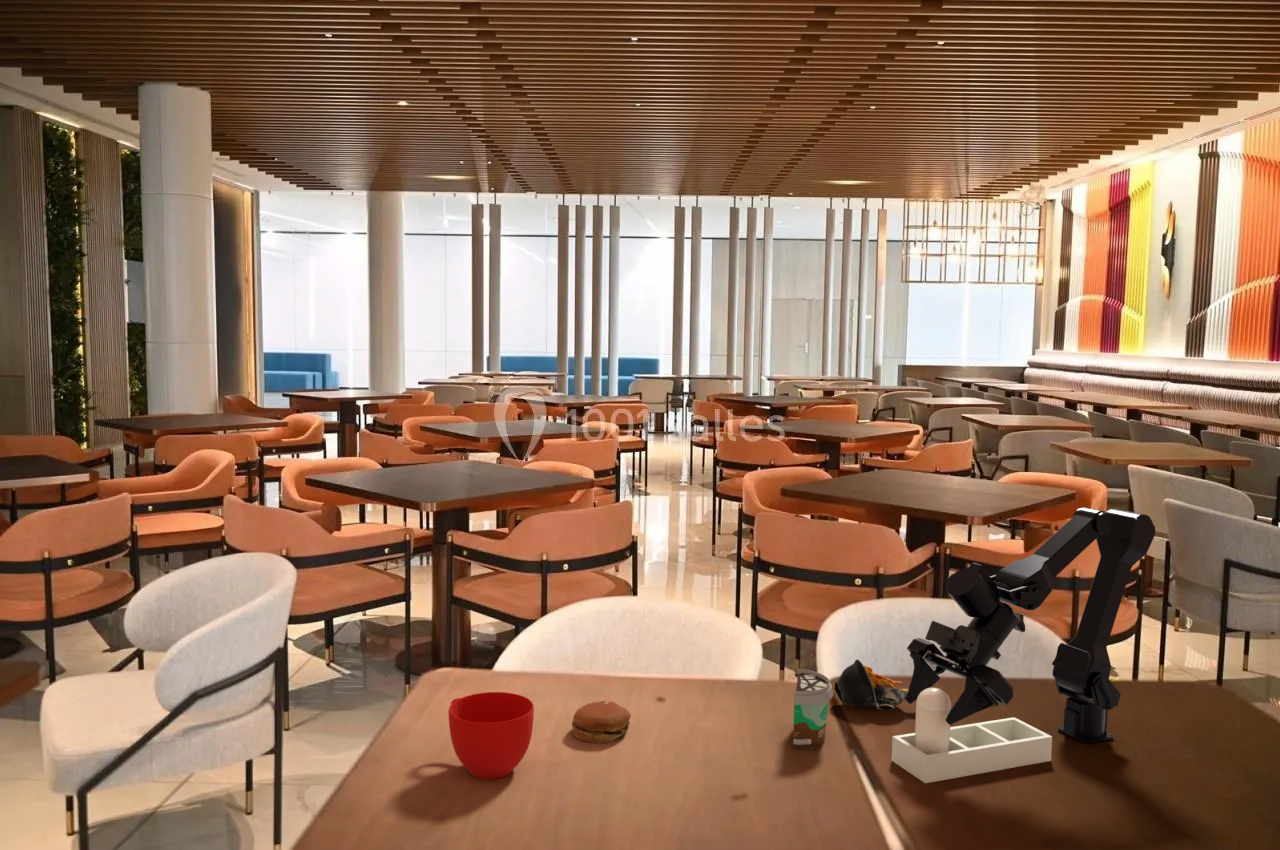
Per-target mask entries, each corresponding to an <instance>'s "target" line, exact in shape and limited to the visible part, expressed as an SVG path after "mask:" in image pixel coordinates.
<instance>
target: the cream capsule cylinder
mask: <svg viewBox="0 0 1280 850" xmlns="http://www.w3.org/2000/svg"><path fill="white" fill-rule="evenodd" d="M915 702H916V705H915V725H914V726H915V727H914V731H915V732H914V733H915V748H917V749H919V750H920V751H922V752H923V753H925V754H927V755H930V754H936V753H942V752H948V751H949V743H950V727H951V725H949V724H948V723H947V722H946V718H947V716H948V714H949V712H950V711H951V709H952V703H951V699H950V696H949V695H948V694H947V693H946V692H945V691H943V690H942V689H941V688H938V687H930V688H927V689H924V690H923V691H922V692H921V693H920V694H919V695H918V697H917V700H916V701H915Z"/></svg>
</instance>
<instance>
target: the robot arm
mask: <svg viewBox="0 0 1280 850" xmlns="http://www.w3.org/2000/svg"><path fill="white" fill-rule="evenodd" d="M1155 535H1156V526H1155V524H1154V523H1153V519H1152V518H1151V517H1150V515H1148V514H1146V513H1145V514H1144V513H1140V512H1134V511H1130V510H1129V511H1128V510H1124V509H1119V508H1110V509H1109V510H1107V511H1105V510H1100V509H1097V508H1091V507H1080V508H1077V509H1076V511H1075V512H1074V513H1073V516H1072V517H1071V519H1069V520H1068V521H1067V522H1066V523H1065V524H1064V525H1063V526H1061V528H1060V529H1058V530H1057V532H1054V534H1053V535H1052V536H1051V537H1050V538H1049V539H1047V541H1045V542H1044V543H1043V544H1042V545H1041V546H1040V547H1039V548H1038V549H1037V550H1036V551H1034V553H1032V554H1030V555H1029V556H1027V557H1025V558H1021V559H1018V560H1015V561H1012V562H1010V563H1009V564H1008V565H1006V566H1004V567H1002V568H1000V569H999V571H998V572H997V573H996V574H993V575H991V576H990V575H989V574H988V573H987V571H986V568H985V567H984V566H983V565H982V564H979V563H976V562H971V563H970V565H969V566H968V567H964V568H961V569H958V570H957V571H955V572H954V573H951V575H950V576H949V577H948V578H947V579H946V582H945V586H944V588H945V591H946V592H947V594H948V595H949V596H950V597H951V599H952V600H953V601H954V602H955V603H956V604H957V606H958V607H959V608H960V609H961V610H962V611H963V613H964V614H965V615H966V616H968V617H969V618H972V619H971V620H970V622H969V623H968V624H967V626H965V625H963V624H960V625H958V626H957V627H956V628H953V627H950V626H947V625H945V624H942V623H939V622H937V621H935V620H932V621H931V622H930V624H929V627H928V630H927V632H926V635H925V637H924V639H923V638H921V637H918V638H913V639H912V640H911V642H910V644H909V645H908V646H907V647H906V649H907V651H909V652H910V653H909V657H910V658H911V659H912V662H913V672H912V677H911V681H910V683H909V687H908V689H909V690H908V693H907V696H906V699H905V702H907V704H909V705H912V704H913V703H914V702H916V701H917V697H918V695H919V694H920V693H921V692H922V691H923V690H924V689H927V688H933V687H934V685H936V683H937V682H938V681H940V680H941V677H940V676H939V675H941V674H944V673H945V672H946V671H948V672H950V673H953V674H955V675H957V676H960V677H962V678H963V679H965V682H964V690H963V692H962V693H961V694H960V696H959V697H958V699H957V700H956V702H955V703H954V705H953V706H952V707H951V711H950V712H949V714H948V716H947V718H946V722H947V723H948V724H949V725H950V726H951V725H954V724H955V723H958V722H959V721H962V720H963V719H966V718H968V717H970V716H972V715H974V714H976V713H978V712H982V711H984V710H986V709H990V708H991V707H995V708H997V707H998V706H1000V704H1001V705H1003V706H1005V707H1006V706H1007V705H1008V704H1009V702H1011V700H1012V699H1013V697H1014V686H1012V685H1011V684H1010V682H1009V681H1008V680H1007V679H1006V678H1005V677H1004V676H1003V674H1002V673H1001V672H1000V671H999V670H997V669H995V668H992V667H991V666H988V664H989V663H990V661H991V660H992V659H994V660H997V661H998V660H999V659H1000V658H1001V656H1002V654H1001V653H1000V652H999V649H1000V647H1001V646H1002V645H1003V643H1004V642H1005V641H1006V639H1007V638H1008V636H1009V635H1010V634H1011V633H1012V631H1013V630H1015V631H1018V632H1020V633H1025V632H1026V624H1025V622H1024V621H1025V620H1024V617H1025V616H1024V614H1022V613H1019V612H1016V611H1015V610H1014V609H1013V608H1012V606H1013V607H1016V608H1019V609H1023V610H1026V611H1035V610H1036V609H1038V608H1040V607H1041V606H1042V604H1044V602H1045V600H1046V599H1047V598H1048V597H1049V595H1050V594H1051V593H1052V591H1053V589H1054V588H1053V587H1054V580H1055V579H1056V577H1057V576H1058V575H1059V574H1060V573H1062V572H1063V570H1065V569H1066V567H1068V566H1069V565H1070V563H1072V562H1073V561H1074V560H1075V559H1076V558H1077V557H1078V556H1080V555H1081V554H1082V553H1083V552H1084V551H1086V549H1087V548H1088V547H1089V546H1091V545H1092V543H1093V542H1095V541H1096V543H1097V547H1098V551H1099V555H1100V557H1099V558H1100V559H1099V560H1098V564H1097V567H1096V570H1095V573H1094V576H1093V580H1092V584H1091V587H1090V590H1089V593H1088V597H1087V599H1086V603H1085V606H1084V609H1083V612H1082V615H1081V619H1080V622H1079V625H1078V628H1077V631H1076V635H1075V636H1074V638H1072V639H1071V640H1070V641H1069V642H1067V644H1066V643H1063V642H1061V643H1059V644H1058V646H1057V649H1056V655H1055V657H1054V660H1053V661H1052V663H1051V665H1052V666H1053V668H1052V677H1053V678H1054V681H1055V685H1056V688H1057V689H1056V690H1057V693H1058V694H1060V695H1064V696H1065V697H1067V698H1065V700H1066V701H1065V707H1064V713H1063V725H1061V726H1057V730H1058V731H1059V732H1061V733H1063V734H1065V735H1067V736H1069V737H1071V738H1073V739H1076V740H1077V741H1079V742H1081V743H1084V744H1092V743H1098V742H1104V741H1109V740H1114V739H1115V735H1114V734H1111V733H1109V732H1108V718H1109V717H1108V716H1109V713H1108V712H1109V710H1110V711H1111V710H1113V708H1115V707H1117V706H1118V705H1119V701H1120V699H1121V696H1122V693H1120V691H1119V690H1118V688H1117V687H1116V686H1115V685H1114V684H1113V682H1112V681H1111V680H1110V676H1111V669H1112V664H1111V660H1110V656H1109V652H1108V649H1107V647H1108V644H1109V641H1110V637H1111V635H1112V631H1113V628H1114V625H1115V621H1116V618H1117V615H1118V612H1119V609H1120V605H1121V602H1122V599H1123V595H1124V593H1125V589H1126V586H1127V583H1128V579H1129V577H1130V574H1131V571H1132V568H1133V566H1135V565H1136V564H1137V563H1138V562H1139V561H1140V560H1141V559H1142V558H1143V557H1145V556H1146V555H1147V554H1148V551H1149V549H1150V547H1151V546H1152V542H1153V541H1154V537H1155ZM1010 605H1011V606H1010ZM933 642H935V643H936V644H937V645H938V646H939V648H938V647H937V645H936V644H935V643H933ZM944 653H945V655H944Z"/></svg>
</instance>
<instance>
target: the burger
mask: <svg viewBox="0 0 1280 850" xmlns="http://www.w3.org/2000/svg"><path fill="white" fill-rule="evenodd" d="M631 716H632V715H631V712H630V711H629V710H628V709H626V708H624V707H623V706H621V705H619V704H617V703H616V702H614V701H612V700H610V701H606V700H602V701H601V700H600V701H595V702H594V701H593V702H590V703H587V704H584V705H582V706H581V707H580V708H578V709H577V710H576V712H575V713H574V714H573V719H572V721H571V727H572V735H573V737H575V738H576V739H578V740H580V741H583V742H586V743H591V744H607V743H611V742H613V741H615V740H616V739H619V737H622V736H623V735H625V734H626V733H627V731H628V729H629V726H630V719H631Z"/></svg>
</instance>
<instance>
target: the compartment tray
mask: <svg viewBox="0 0 1280 850" xmlns="http://www.w3.org/2000/svg"><path fill="white" fill-rule="evenodd" d="M891 741H892V742H891V743H892V744H891V762H893V763H894V764H895V765H897V766H899V767H900V768H902V769H903V770H904V771H906V772H907V773H910V775H912V776H914V777H915V778H916V779H918V780H919V781H921V782H923V783H924V784H929V783H935V782H940V781H945V780H946V781H947V780H951V779H957V778H962V777H967V776H974V775H980V774H984V773H990V772H997V771H1003V770H1008V769H1012V768H1017V767H1018V768H1019V767H1023V766H1029V765H1036V764H1040V763H1041V764H1042V763H1046V762H1051V761H1052V748H1053V736H1052V735H1050V734H1048V733H1046V732H1044V731H1042V730H1040V729H1039V728H1036V727H1035V726H1032V725H1030V724H1028V723H1026V722H1024V721H1022V720H1021V719H1018V718H1016V717H1007V718H1002V719H1001V718H999V719H996V720H988V721H987V720H986V721H983V722H982V721H981V722H976V723H970V724H962V725H956V726H950V743H949V751H948V752H942V753H936V754H930V755H927V754H925V753H923V752H922V751H920V750H919V749H917V748H915V732H912V733H907V734H906V733H905V734H899V735H898V734H897V735H892V739H891Z"/></svg>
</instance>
